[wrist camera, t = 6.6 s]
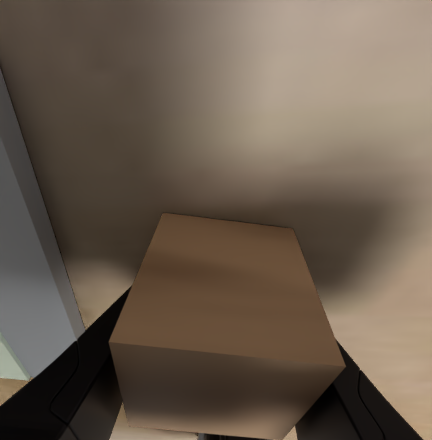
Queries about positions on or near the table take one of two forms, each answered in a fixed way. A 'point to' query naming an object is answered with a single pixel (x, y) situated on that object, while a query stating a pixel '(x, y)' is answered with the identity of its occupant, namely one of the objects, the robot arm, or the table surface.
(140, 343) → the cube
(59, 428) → the robot arm
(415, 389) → the table surface
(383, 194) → the table surface
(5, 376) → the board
